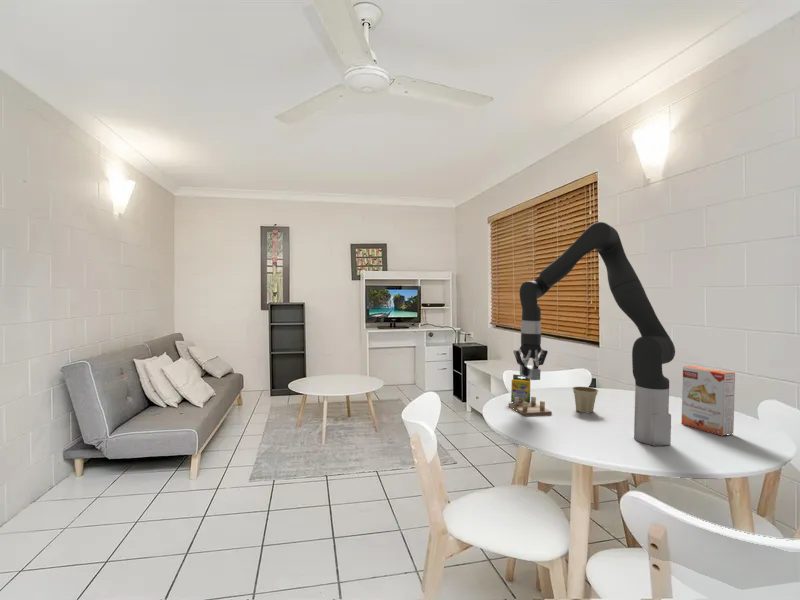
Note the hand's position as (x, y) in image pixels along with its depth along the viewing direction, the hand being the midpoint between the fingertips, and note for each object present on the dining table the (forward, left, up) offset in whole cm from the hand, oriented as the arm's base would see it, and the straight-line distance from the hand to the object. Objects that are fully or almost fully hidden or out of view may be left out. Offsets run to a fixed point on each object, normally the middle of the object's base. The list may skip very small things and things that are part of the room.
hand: (530, 375), depth 168 cm
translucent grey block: (0, 0, -1) cm, 1 cm away
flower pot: (-4, -21, -14) cm, 26 cm away
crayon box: (+10, -1, -14) cm, 17 cm away
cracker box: (-31, -49, -14) cm, 60 cm away
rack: (0, 0, -14) cm, 14 cm away
